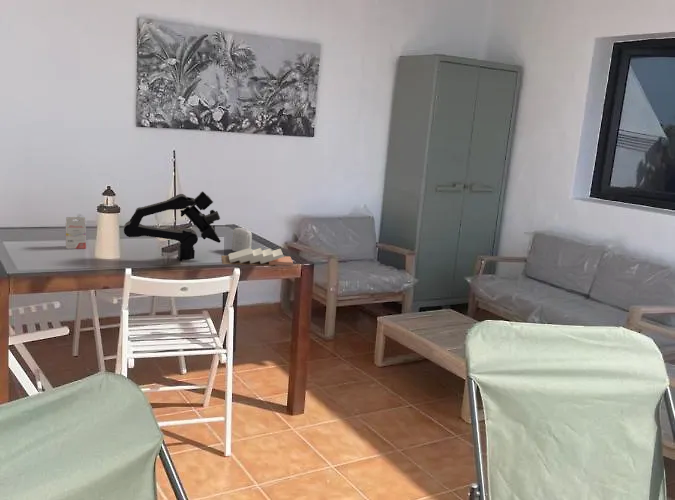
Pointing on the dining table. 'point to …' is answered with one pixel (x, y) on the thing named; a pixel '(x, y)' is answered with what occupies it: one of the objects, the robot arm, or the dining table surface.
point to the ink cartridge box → (75, 233)
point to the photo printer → (241, 239)
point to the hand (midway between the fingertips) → (219, 242)
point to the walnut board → (226, 261)
